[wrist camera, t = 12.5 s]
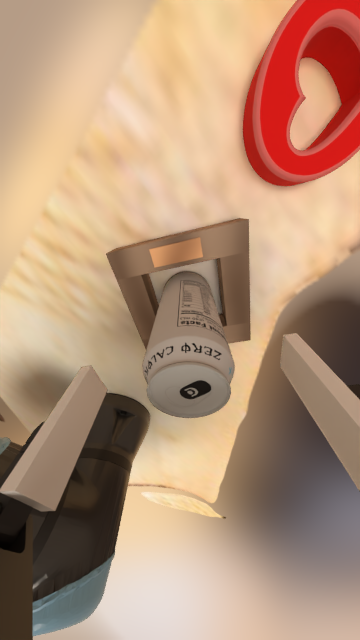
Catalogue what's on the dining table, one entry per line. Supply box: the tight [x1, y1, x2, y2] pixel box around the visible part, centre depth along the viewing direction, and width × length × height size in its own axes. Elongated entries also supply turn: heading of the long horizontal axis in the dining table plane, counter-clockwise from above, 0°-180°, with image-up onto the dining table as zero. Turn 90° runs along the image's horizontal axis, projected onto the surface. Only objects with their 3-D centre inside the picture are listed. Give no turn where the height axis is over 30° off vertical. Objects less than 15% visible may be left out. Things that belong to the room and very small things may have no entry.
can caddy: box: [106, 218, 250, 350], centre depth 21 cm, size 14×14×3 cm
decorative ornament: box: [243, 0, 360, 186], centre depth 13 cm, size 10×10×3 cm
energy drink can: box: [142, 272, 234, 418], centre depth 16 cm, size 6×6×15 cm
